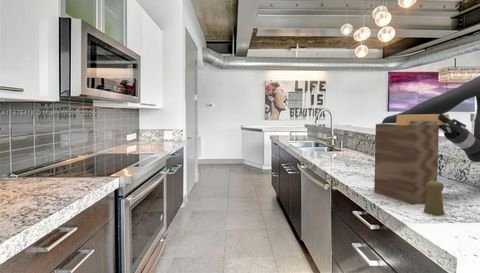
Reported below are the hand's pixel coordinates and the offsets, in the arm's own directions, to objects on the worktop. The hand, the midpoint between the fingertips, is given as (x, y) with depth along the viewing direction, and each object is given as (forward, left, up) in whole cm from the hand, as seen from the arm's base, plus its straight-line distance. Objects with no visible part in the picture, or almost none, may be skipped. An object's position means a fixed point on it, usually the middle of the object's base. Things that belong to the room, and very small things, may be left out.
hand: (433, 116), depth 124 cm
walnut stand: (-8, -6, -33) cm, 35 cm away
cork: (+8, -20, -34) cm, 40 cm away
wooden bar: (-2, -5, -3) cm, 7 cm away
